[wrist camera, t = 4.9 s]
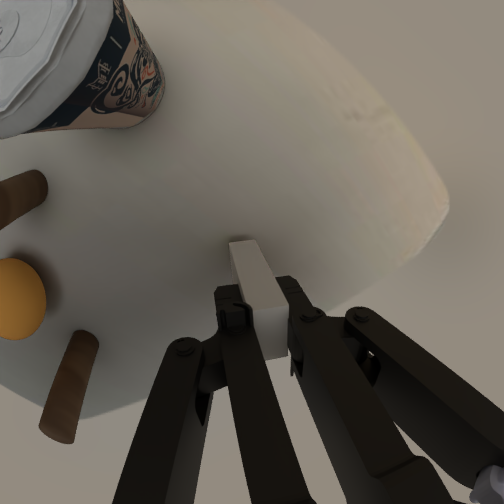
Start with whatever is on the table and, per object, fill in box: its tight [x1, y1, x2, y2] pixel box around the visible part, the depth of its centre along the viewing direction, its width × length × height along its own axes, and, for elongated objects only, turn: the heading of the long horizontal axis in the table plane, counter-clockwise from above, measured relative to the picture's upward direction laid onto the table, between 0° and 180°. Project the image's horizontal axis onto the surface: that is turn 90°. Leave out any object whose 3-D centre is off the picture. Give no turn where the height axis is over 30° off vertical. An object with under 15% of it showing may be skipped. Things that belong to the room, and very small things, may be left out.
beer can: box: [0, 0, 165, 139], centre depth 8 cm, size 5×5×12 cm
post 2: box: [39, 330, 99, 444], centre depth 15 cm, size 2×2×9 cm
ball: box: [0, 258, 46, 340], centre depth 14 cm, size 6×6×6 cm
